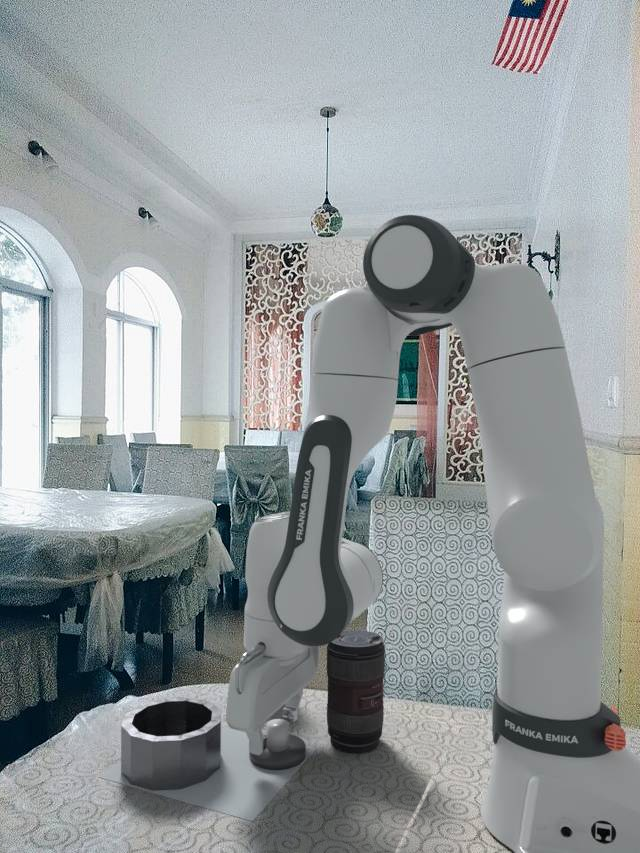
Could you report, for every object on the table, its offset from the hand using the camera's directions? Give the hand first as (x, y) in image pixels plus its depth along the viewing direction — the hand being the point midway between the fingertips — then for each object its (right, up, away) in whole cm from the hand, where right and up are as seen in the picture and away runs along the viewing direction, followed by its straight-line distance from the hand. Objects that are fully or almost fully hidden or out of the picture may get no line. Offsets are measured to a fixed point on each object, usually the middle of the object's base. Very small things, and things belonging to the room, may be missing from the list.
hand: (274, 735), depth 89 cm
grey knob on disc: (0, -3, 0) cm, 3 cm away
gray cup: (-13, -3, -2) cm, 14 cm away
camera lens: (+11, -3, +4) cm, 12 cm away
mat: (-8, -3, -2) cm, 9 cm away
